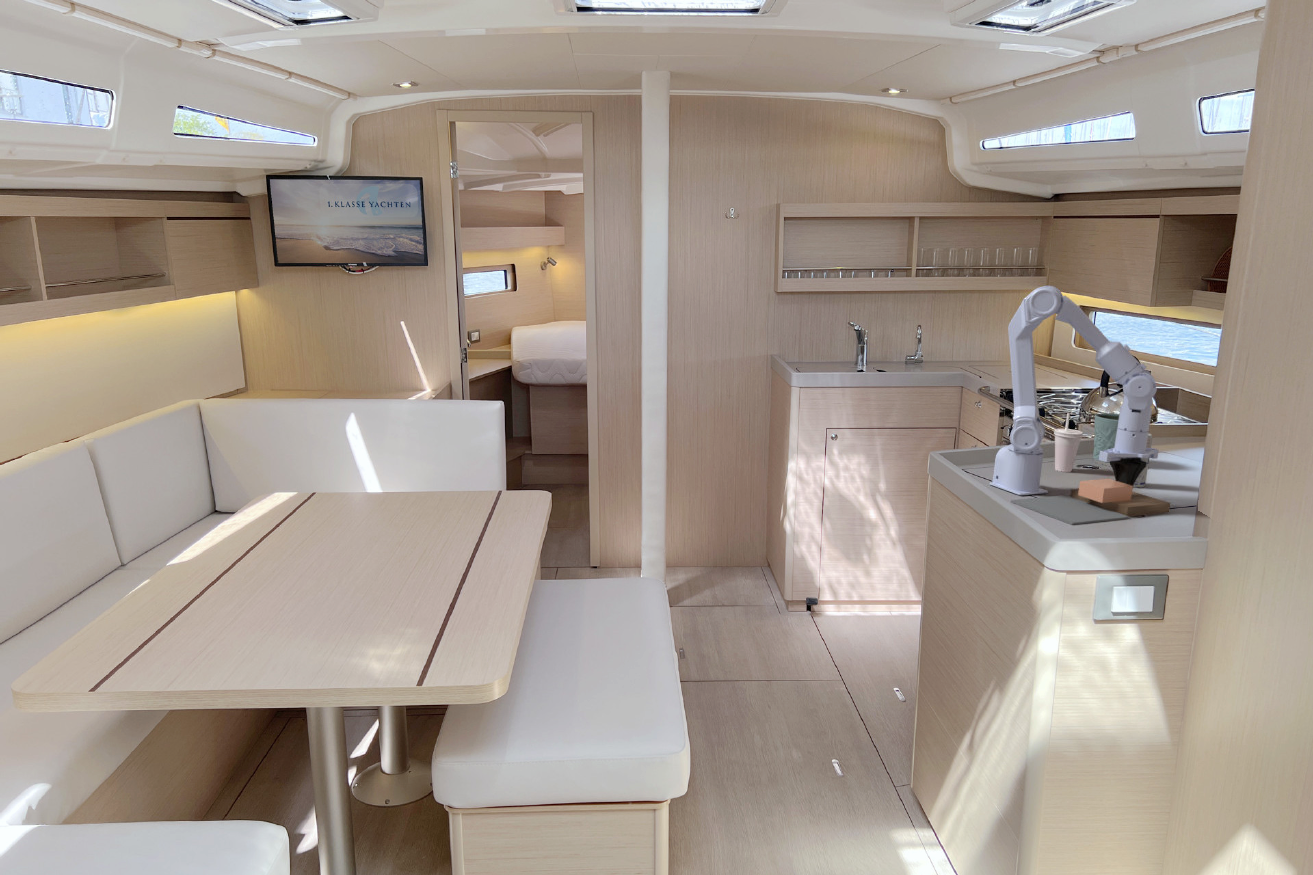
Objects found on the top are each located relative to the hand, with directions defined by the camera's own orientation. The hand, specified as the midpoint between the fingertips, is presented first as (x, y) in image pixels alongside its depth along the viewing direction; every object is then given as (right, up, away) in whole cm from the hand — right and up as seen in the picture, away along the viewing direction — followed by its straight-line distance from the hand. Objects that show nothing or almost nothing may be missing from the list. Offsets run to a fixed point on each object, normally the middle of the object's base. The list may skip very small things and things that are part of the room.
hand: (1123, 493), depth 185 cm
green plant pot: (+18, +5, +39) cm, 43 cm away
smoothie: (+1, +3, +29) cm, 30 cm away
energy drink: (+11, +1, +18) cm, 21 cm away
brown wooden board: (-1, -2, 0) cm, 3 cm away
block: (-5, -1, -2) cm, 5 cm away
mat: (-14, -3, -5) cm, 15 cm away
